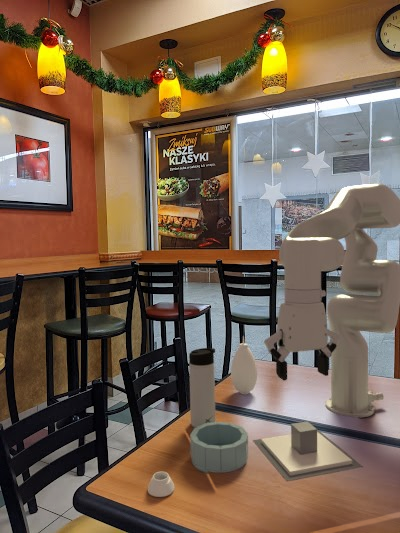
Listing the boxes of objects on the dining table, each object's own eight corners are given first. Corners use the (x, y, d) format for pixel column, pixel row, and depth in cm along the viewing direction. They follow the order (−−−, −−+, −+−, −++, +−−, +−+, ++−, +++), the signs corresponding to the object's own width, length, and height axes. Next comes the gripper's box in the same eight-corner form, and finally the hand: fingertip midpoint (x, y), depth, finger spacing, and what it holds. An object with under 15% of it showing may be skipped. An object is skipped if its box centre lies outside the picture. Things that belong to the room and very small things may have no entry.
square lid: (315, 433, 98) (315, 409, 98) (352, 463, 84) (352, 436, 84) (261, 442, 94) (260, 417, 94) (290, 475, 81) (289, 446, 80)
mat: (317, 432, 100) (317, 429, 100) (363, 469, 83) (363, 466, 83) (252, 442, 95) (252, 440, 95) (286, 484, 79) (286, 481, 79)
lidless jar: (179, 491, 78) (164, 480, 82) (179, 476, 78) (164, 465, 82) (157, 502, 75) (142, 489, 79) (156, 486, 74) (142, 475, 78)
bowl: (236, 442, 96) (235, 419, 96) (256, 469, 84) (256, 443, 84) (186, 450, 93) (185, 426, 92) (200, 479, 81) (199, 452, 81)
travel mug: (214, 433, 101) (212, 352, 99) (188, 431, 102) (186, 351, 101) (218, 422, 107) (217, 346, 105) (193, 420, 108) (191, 345, 107)
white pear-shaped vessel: (261, 391, 127) (260, 334, 126) (250, 400, 121) (249, 339, 120) (238, 387, 132) (237, 331, 131) (227, 395, 125) (225, 336, 124)
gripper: (328, 292, 93) (328, 367, 94) (257, 296, 89) (258, 375, 89) (348, 296, 86) (348, 377, 87) (272, 301, 81) (273, 386, 82)
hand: (302, 376), depth 88 cm, fingers open, 9 cm apart
